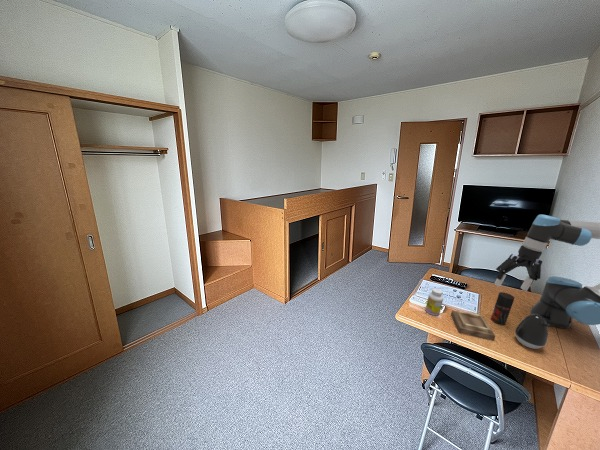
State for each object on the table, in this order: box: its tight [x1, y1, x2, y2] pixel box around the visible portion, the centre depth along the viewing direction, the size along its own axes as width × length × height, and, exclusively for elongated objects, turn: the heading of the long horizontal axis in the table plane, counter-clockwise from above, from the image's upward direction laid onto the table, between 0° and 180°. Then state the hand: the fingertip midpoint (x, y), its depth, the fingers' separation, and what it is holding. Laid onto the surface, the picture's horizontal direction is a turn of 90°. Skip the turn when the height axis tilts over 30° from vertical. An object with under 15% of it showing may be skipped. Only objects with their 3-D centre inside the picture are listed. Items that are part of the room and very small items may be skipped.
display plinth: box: [450, 310, 496, 341], centre depth 118 cm, size 14×14×4 cm
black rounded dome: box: [514, 313, 551, 350], centre depth 106 cm, size 10×10×15 cm
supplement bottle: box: [425, 287, 444, 316], centre depth 126 cm, size 7×7×13 cm
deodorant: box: [490, 291, 515, 326], centre depth 121 cm, size 6×6×15 cm
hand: (510, 287), depth 117 cm, fingers open, 13 cm apart
